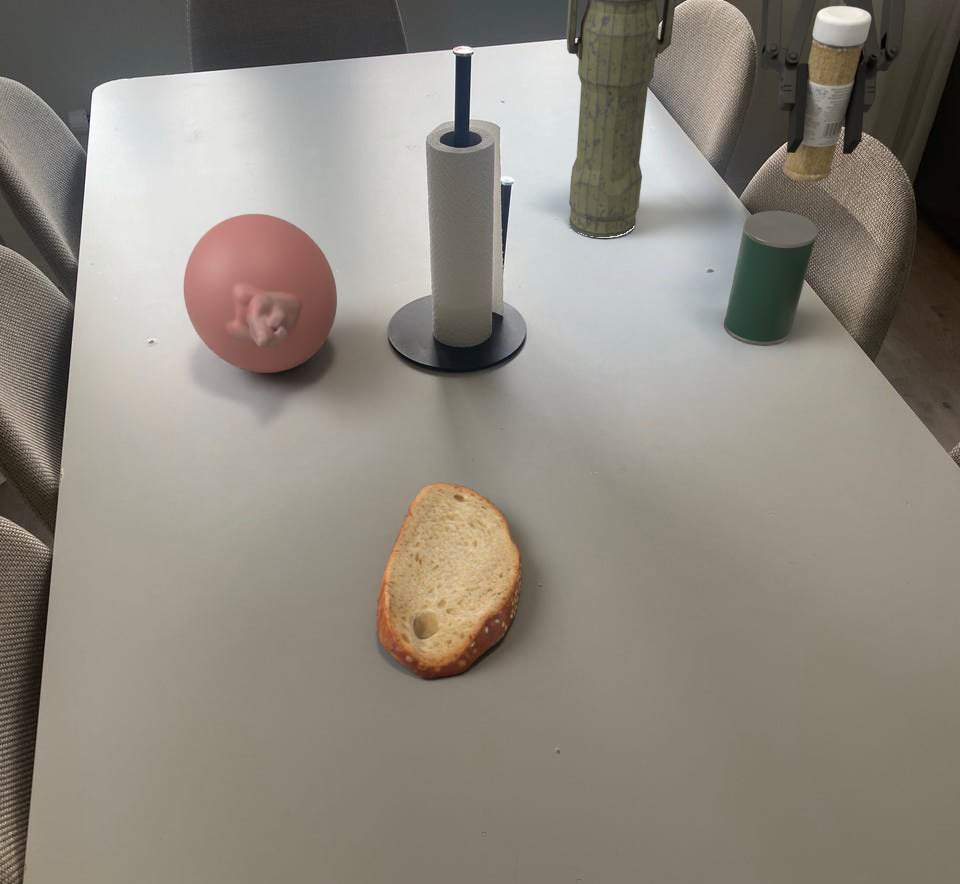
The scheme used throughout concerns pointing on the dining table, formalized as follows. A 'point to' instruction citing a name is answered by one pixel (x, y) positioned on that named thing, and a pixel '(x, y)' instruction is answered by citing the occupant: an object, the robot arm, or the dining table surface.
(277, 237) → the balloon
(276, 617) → the dining table surface
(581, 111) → the thermos
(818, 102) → the sprinkles bottle
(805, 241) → the tin can
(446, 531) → the bread slice
